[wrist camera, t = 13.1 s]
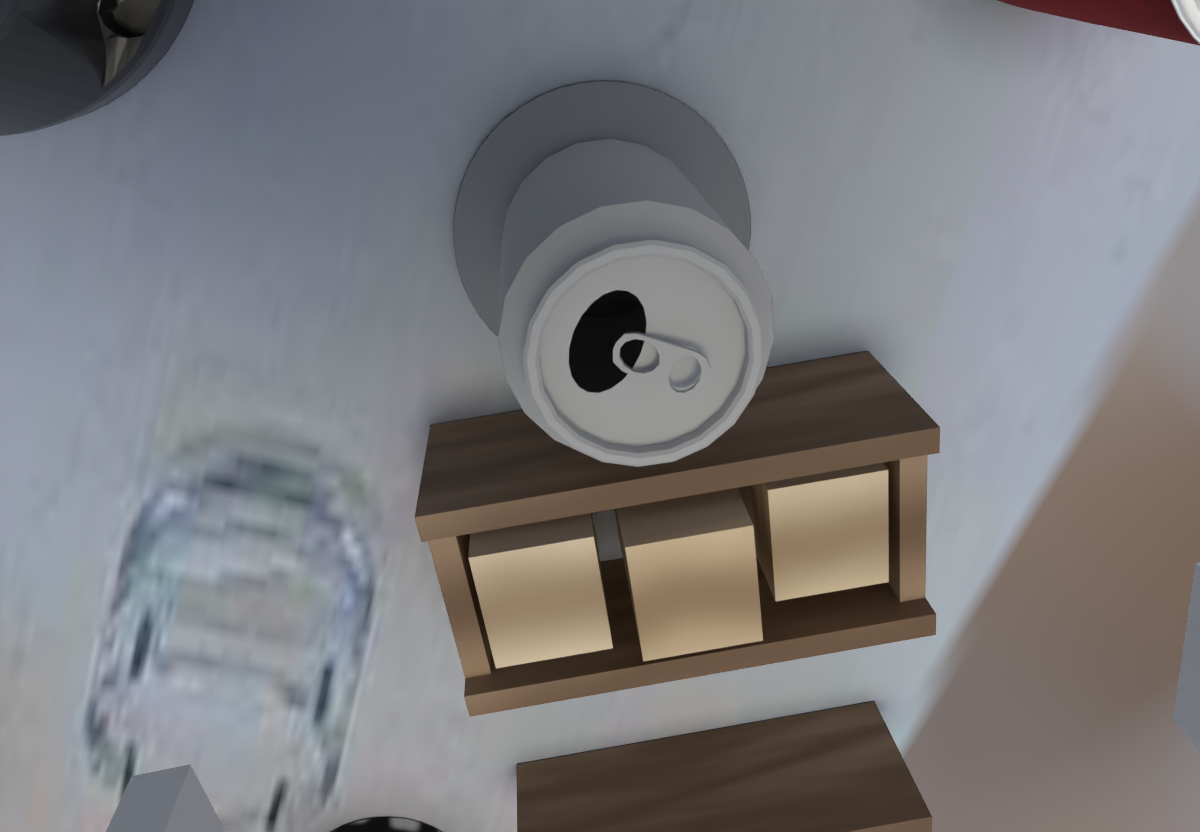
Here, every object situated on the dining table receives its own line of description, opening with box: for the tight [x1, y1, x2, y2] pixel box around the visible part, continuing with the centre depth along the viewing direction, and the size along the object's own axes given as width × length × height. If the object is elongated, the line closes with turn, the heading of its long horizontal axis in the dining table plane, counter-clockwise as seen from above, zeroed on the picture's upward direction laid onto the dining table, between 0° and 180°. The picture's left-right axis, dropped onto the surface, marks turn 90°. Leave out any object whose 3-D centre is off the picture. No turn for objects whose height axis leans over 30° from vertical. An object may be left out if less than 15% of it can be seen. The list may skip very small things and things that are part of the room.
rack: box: [415, 351, 940, 832], centre depth 39 cm, size 20×18×7 cm
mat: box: [454, 81, 751, 336], centre depth 34 cm, size 11×11×1 cm
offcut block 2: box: [615, 488, 763, 662], centre depth 36 cm, size 5×4×8 cm
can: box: [498, 139, 774, 467], centre depth 29 cm, size 8×8×12 cm
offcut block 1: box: [468, 513, 613, 668], centre depth 36 cm, size 5×4×7 cm
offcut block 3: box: [738, 463, 889, 601], centre depth 37 cm, size 5×4×6 cm
